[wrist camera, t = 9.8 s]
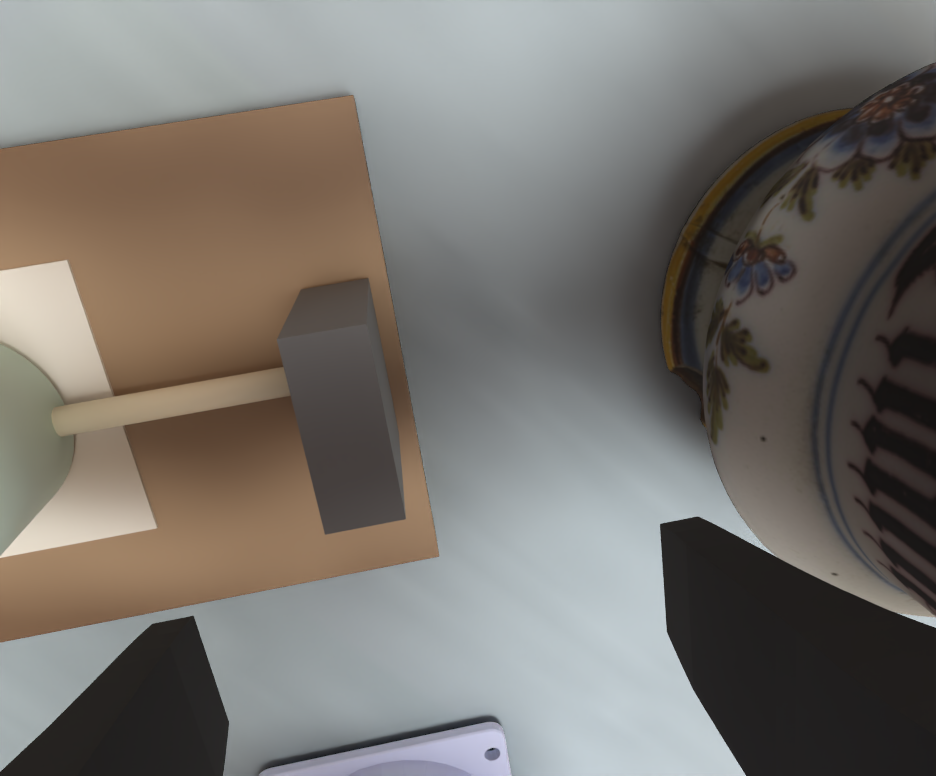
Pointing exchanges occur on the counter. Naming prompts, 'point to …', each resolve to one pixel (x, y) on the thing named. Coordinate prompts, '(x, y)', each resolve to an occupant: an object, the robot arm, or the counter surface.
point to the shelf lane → (188, 357)
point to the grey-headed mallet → (302, 377)
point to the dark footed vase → (823, 341)
